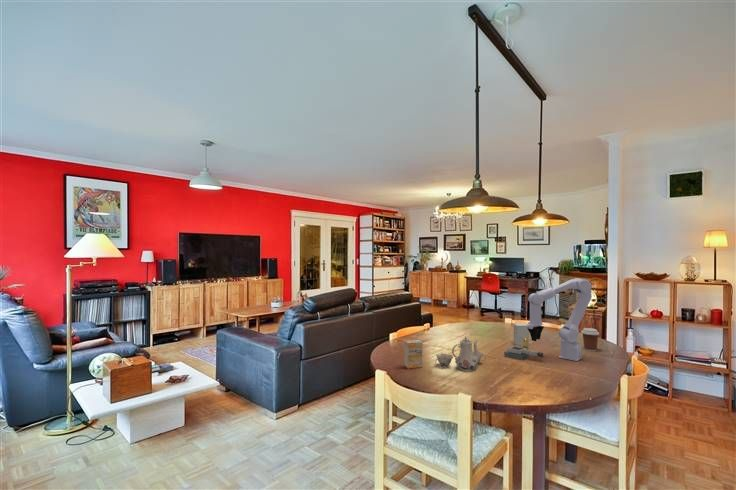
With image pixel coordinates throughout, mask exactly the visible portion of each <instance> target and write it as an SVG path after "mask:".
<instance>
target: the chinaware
mask: <svg viewBox="0 0 736 490" xmlns="http://www.w3.org/2000/svg"><path fill="white" fill-rule="evenodd" d="M477 343H478V340H475V341H472V340H470V339H469V338H468V336H465V337H464V338H463V339H462V340H459V343H458V344H457V343H456V344H455V345H454V346H453V347H452V349H451V353H452V354H446V353H441V354H436V355H435V356H436V359H435V364H436V366H440V367H442V366H443V368H448V367H447V366H449V365H450V364H452V363H451V362H452V361H453V358H454V360H455V362H454V363H455V364H456V366H457V369H458V370H460V371H463V372H473V371H475V370H476V368H477V367H478V365H479V364H478V363H481V362H484V361H485V360H486V358H487V357H486V356H484V353H483V352H480V351H479V348H478V345H477ZM457 346H458V349H460V350H459V354H458V356H457V355H455V353H454V351H455V348H456V347H457ZM482 357H484V359H483V360H482ZM437 362H438V363H437Z"/></svg>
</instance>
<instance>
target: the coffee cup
mask: <svg viewBox="0 0 736 490" xmlns="http://www.w3.org/2000/svg"><path fill="white" fill-rule="evenodd" d="M580 333H581V334H582V340H583V341H582V342H583V349H584V350H585V351H588V352H597V351H598V340H599V339H598V338H599V335H600V332H598V330H597V329H596V328H593V327H592V328H591V327H584V328H583V330H581V332H580Z"/></svg>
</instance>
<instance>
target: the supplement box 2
mask: <svg viewBox="0 0 736 490" xmlns="http://www.w3.org/2000/svg"><path fill="white" fill-rule="evenodd" d="M512 325H513V326H512V327H513V343H514V344H515V346H517V347H522V338H524V337H528V345H529V346H530V333H529V331H528V327H529V324H528V323H525V322H523V323H522V322H513V324H512Z"/></svg>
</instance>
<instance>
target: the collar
mask: <svg viewBox="0 0 736 490" xmlns="http://www.w3.org/2000/svg"><path fill="white" fill-rule="evenodd" d="M507 351H508V352H512V353H517V354H522V353H525V354H530V356H535V357H541V358H543V357H544V352H541V351H535V350H530V349H529V350H526V348H523V347H522V346H517V345H511V346H510V347H508V348H507Z"/></svg>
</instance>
